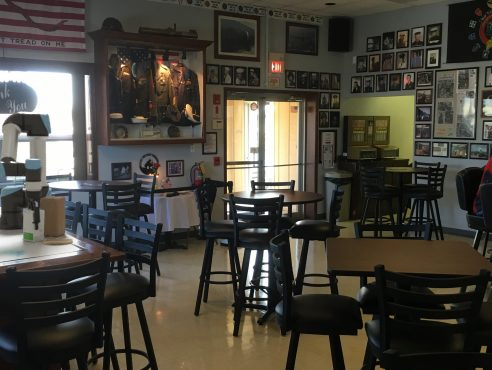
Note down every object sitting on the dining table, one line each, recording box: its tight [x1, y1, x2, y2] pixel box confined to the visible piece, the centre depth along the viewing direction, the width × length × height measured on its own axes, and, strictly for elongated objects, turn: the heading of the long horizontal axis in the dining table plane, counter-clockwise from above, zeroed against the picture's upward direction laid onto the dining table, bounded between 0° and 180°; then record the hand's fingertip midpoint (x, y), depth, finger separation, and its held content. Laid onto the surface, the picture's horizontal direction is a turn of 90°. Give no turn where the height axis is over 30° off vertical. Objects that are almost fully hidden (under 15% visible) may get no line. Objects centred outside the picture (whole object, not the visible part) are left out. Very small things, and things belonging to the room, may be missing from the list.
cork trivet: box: [42, 237, 74, 246], centre depth 275 cm, size 14×14×1 cm
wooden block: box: [39, 195, 66, 237], centre depth 293 cm, size 10×10×20 cm
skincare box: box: [22, 209, 45, 243], centre depth 277 cm, size 8×7×16 cm
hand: (33, 234), depth 278 cm, fingers closed on skincare box, 10 cm apart
